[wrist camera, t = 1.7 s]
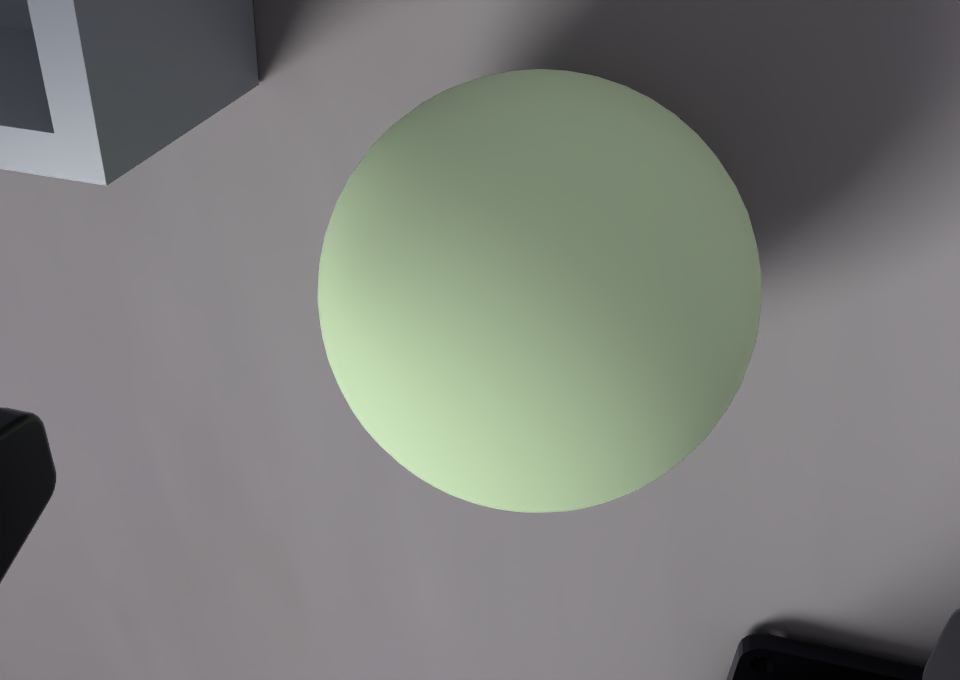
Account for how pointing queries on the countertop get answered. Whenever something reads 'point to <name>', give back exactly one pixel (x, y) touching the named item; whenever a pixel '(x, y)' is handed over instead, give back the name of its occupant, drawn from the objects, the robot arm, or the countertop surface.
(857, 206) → the countertop surface
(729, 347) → the ball
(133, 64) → the bin
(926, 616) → the countertop surface
